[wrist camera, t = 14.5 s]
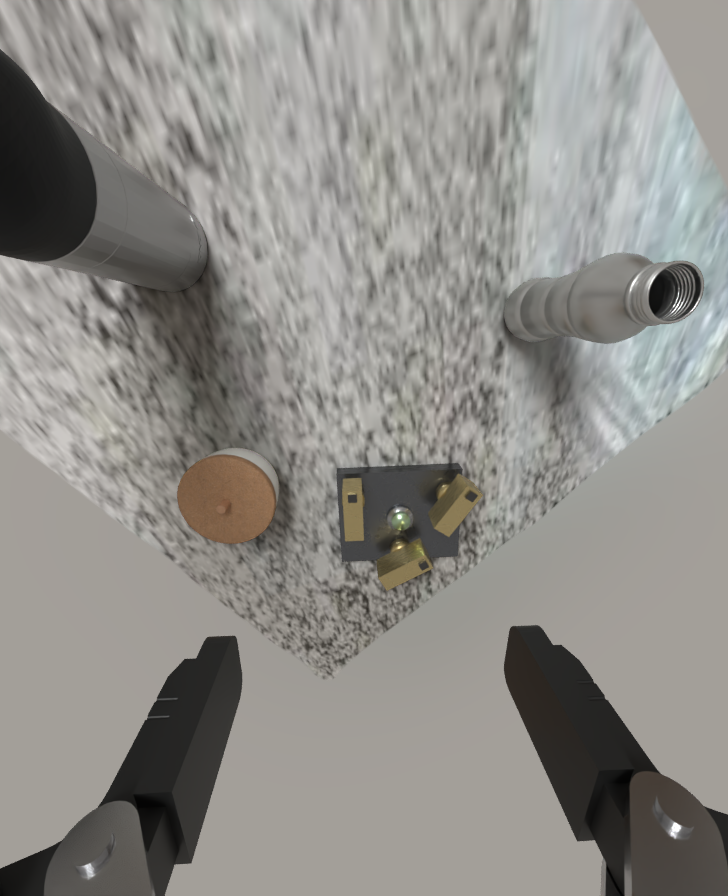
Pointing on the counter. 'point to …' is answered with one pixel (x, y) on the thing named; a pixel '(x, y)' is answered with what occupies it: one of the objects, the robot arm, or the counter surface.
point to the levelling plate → (397, 509)
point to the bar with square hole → (403, 562)
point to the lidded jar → (229, 495)
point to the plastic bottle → (605, 300)
